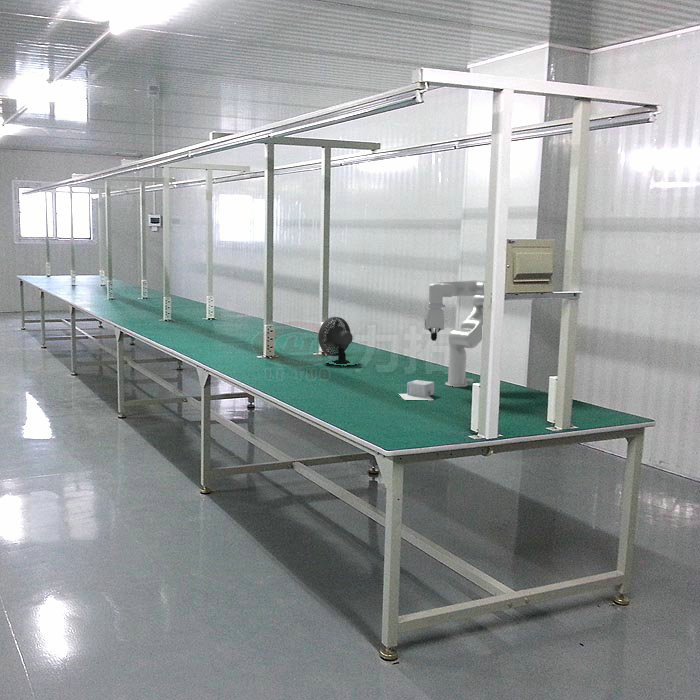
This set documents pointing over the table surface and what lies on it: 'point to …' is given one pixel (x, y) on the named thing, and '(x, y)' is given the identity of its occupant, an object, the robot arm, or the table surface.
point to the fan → (335, 338)
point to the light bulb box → (420, 388)
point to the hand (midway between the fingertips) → (433, 340)
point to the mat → (414, 397)
